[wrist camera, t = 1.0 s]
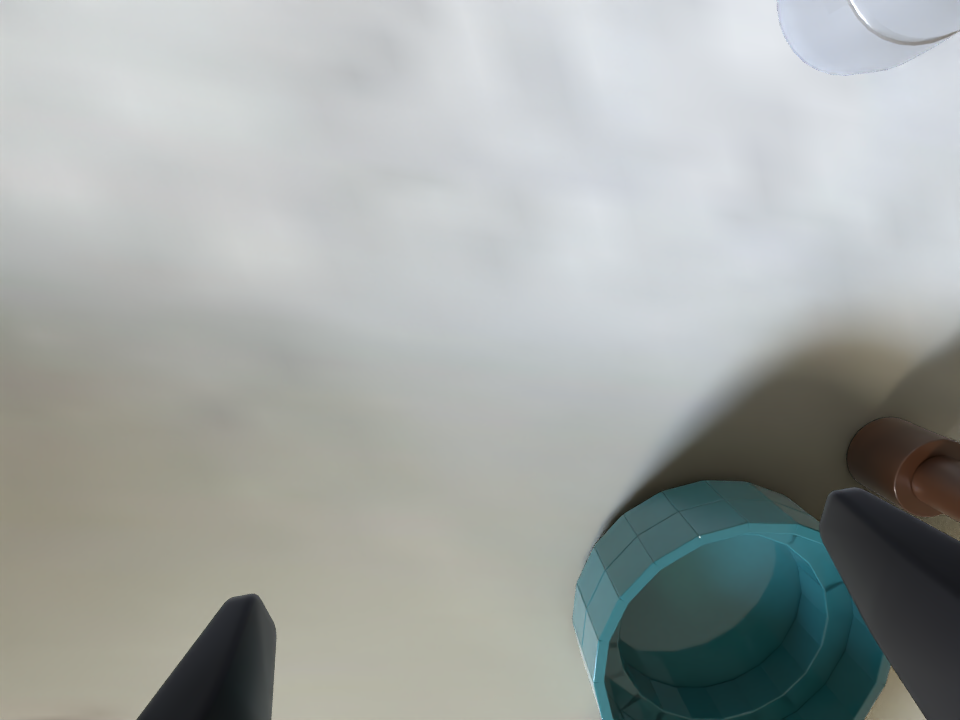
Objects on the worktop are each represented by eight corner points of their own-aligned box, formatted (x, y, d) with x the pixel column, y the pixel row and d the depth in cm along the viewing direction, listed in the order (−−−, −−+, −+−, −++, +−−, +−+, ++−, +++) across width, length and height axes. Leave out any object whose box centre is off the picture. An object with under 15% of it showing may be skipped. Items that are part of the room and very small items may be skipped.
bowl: (752, 733, 30) (804, 817, 26) (530, 667, 29) (546, 745, 24) (872, 524, 28) (951, 579, 24) (638, 438, 26) (677, 479, 22)
